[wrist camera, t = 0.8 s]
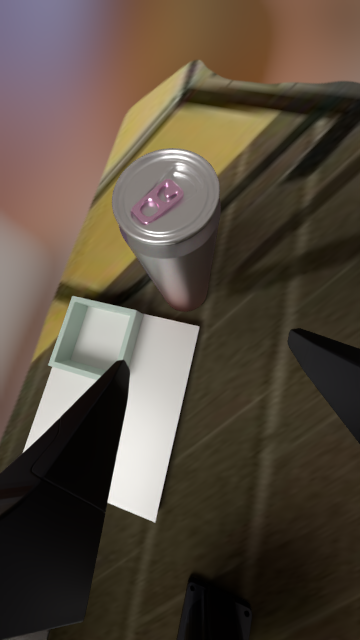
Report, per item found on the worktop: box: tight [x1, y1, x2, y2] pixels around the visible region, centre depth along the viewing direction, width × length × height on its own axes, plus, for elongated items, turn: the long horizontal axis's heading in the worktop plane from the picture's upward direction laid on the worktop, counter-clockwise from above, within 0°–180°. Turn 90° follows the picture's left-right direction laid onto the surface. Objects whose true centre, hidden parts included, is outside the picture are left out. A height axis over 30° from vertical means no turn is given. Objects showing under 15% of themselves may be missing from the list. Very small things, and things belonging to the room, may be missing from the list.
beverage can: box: [112, 148, 221, 312], centre depth 16 cm, size 6×6×15 cm
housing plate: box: [23, 296, 199, 522], centre depth 20 cm, size 22×18×4 cm
